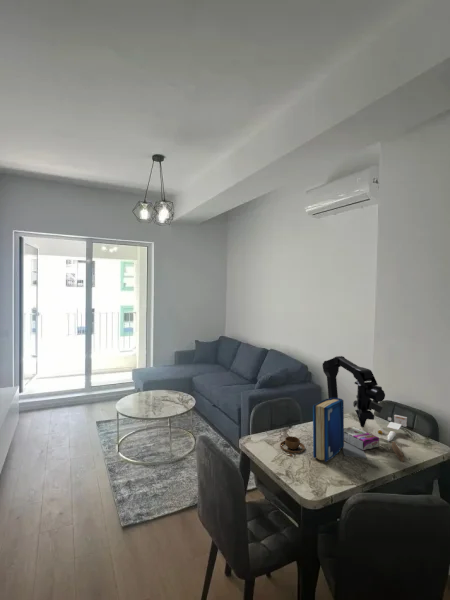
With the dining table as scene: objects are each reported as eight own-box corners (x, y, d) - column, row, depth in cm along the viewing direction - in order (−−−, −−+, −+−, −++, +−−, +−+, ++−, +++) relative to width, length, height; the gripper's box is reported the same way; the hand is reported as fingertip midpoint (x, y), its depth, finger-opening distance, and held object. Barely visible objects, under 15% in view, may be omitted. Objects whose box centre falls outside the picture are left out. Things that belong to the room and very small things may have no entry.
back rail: (400, 461, 152) (400, 455, 152) (391, 447, 166) (392, 441, 166) (403, 461, 152) (403, 455, 152) (394, 447, 166) (394, 442, 166)
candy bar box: (379, 447, 165) (354, 435, 180) (379, 437, 165) (354, 425, 180) (362, 451, 161) (338, 438, 176) (363, 441, 161) (338, 428, 176)
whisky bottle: (387, 422, 201) (373, 442, 177) (387, 412, 200) (373, 431, 177) (406, 426, 194) (394, 448, 171) (406, 416, 194) (394, 437, 171)
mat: (344, 455, 157) (344, 455, 157) (340, 442, 170) (340, 442, 170) (366, 458, 155) (366, 457, 155) (360, 444, 168) (360, 444, 168)
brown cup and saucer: (289, 439, 174) (289, 428, 174) (326, 451, 162) (327, 439, 162) (273, 451, 160) (273, 439, 160) (312, 465, 148) (313, 452, 148)
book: (332, 443, 169) (331, 394, 169) (346, 447, 164) (345, 397, 165) (312, 458, 153) (311, 404, 153) (327, 463, 148) (326, 407, 148)
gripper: (386, 403, 150) (385, 437, 150) (376, 391, 168) (375, 421, 169) (360, 400, 152) (359, 434, 153) (353, 389, 171) (352, 419, 171)
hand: (362, 426), depth 161 cm, fingers closed
